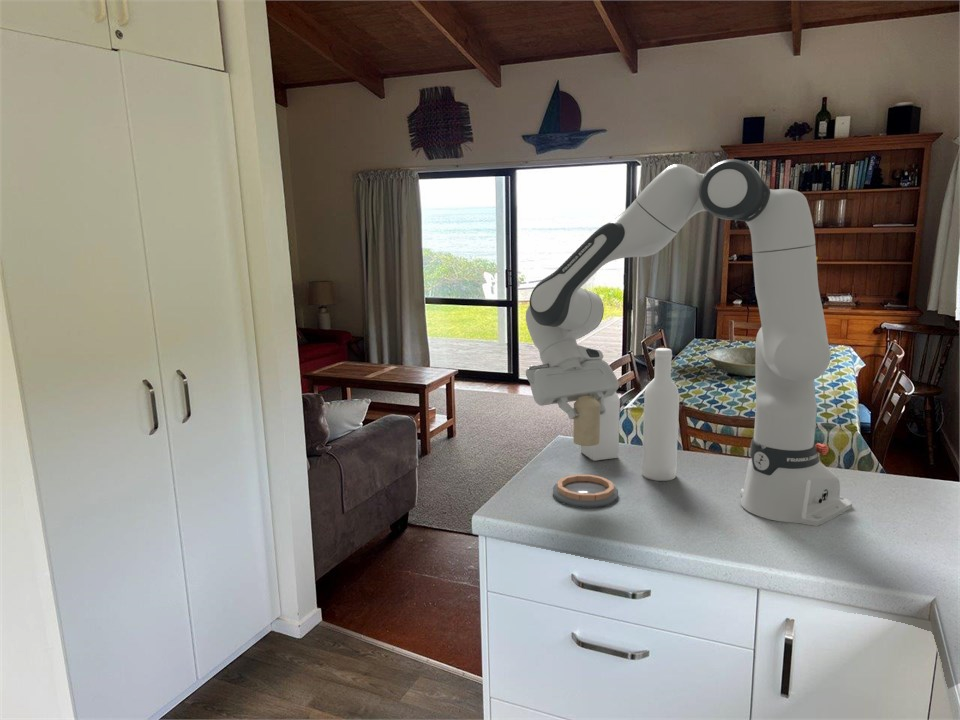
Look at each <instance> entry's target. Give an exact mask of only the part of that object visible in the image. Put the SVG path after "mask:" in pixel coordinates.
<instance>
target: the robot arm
mask: <svg viewBox="0 0 960 720" xmlns="http://www.w3.org/2000/svg"><path fill="white" fill-rule="evenodd" d="M701 212H708V213H709V214H711V215H713V216H714V217H716V218H718V219H722V220H728V221H740V222H745V223H746V225H747V226H748V229H749V232H750V239H751V250H752V253H751V254H752V263H753V264H752V266H753V277H754V278H753V279H754V287H755V292H754V293H755V296H756V300H757V301H756V302H757V306H758V312H759V318H760V319H759V320H760V324H761V327H760V328H759V329H758V332H757V334H756V337H755V356H754V357H755V360H754V361H755V362H754V363H755V366H754V367H755V369H754V370H755V372H754V374H755V414H754V426H753V427H754V429H753V437H752V439H751V440H750V441H751V442H750V445H749V448H750V449H749V450H750V453H749V456H750V459H749V460H748V462H747V463H748V464H747V469H746V474H745V480H744V486H743V487H742V488H741V489H740V493H739V494H740V496H741V499H740V500H741V501H740V505H741V506H742V508H744V509H745V510H746V511H747V512H749V513H751V514H753V515H756V516H758V517H760V518H764V519H767V520H772V521H776V522H783V523H785V522H786V523H796V524H797V523H798V524H799V523H800V524H805V525H809V526H820V525H822V524H824V523H826V522H828V521H829V520H832V519H833V518H836V517H837V516H839V515H842V514H843V513H845V512H847V511H849V510H850V509H852V508H853V502H851V501H850V499H848V498H847V497H845V496H843V495H841V494H840V493H841V484H840V480H839V479H840V478H839V477H838V476H837V475H836V474H835V473H833V472H832V471H831V470H830V469H828V467H826V466H825V465H824V464H823V463H822V462H821V461H820V459H819V458H820V457H819V454H821V455H823V456H825V455H827V454H828V452H829V450H830V449H829V448H830V447H829V446H828V445H827V444H822V443H820V442H817V443H816V444H815V432H816V425H817V424H816V422H817V412H818V410H817V409H818V405H817V399H816V388H815V380H816V379H818V378H820V377H821V376H822V375H823V374H824V373H825V372H826V371H827V369H828V367H829V365H830V362H831V356H832V355H831V350H830V345H829V340H828V331H827V325H826V324H827V323H826V320H825V319H826V318H825V315H824V313H825V312H824V308H823V303H822V300H821V294H820V287H819V280H818V279H819V278H818V264H817V263H818V262H817V248H816V234H815V227H814V222H813V217H812V213H811V208H810V206H809V203H808V200H807V197H806V196H805V195H804V194H803V193H802V192H800V191H798V190H796V189H792V188H791V189H790V188H779V189H778V188H777V189H771V188H769V186H768V185H767V184H766V183H765V181H764V180H763V178H762V177H761V174H760V172H759V171H758V169H756V168H755V166H753V165H752V164H750V163H748V162H746V161H743V160H741V159H737V158H736V159H735V158H729V159H724V160H721V161H718V162H716V163H715V164H713V165H712V166H710V168H708V170H706V172H705V173H700V172H699V171H696V170H695V169H694V168H692V167H690V166H688V165H686V164H681V163H674V164H671V165H669V166H667V167H666V168H665V169H663V170H662V171H661V172H660V173H659V174H658V175H656V176H655V177H654V178H653V179H652V180H651V182H649V183H648V185H646V186H645V187H644V188H643V190H642V191H641V192H640V193H639V194H638V196H637V197H636V198H635V199H634V200H633V202H632V203H630V204H629V206H628V207H627V208H626V209H625V210H624V211H622V213H621V214H619V215H618V216H617V217H616V218H614V219H612V220H611V221H609V222H607V223H605V224H603V225H602V226H600V227H599V228H598V229H596V230H595V231H594V232H593V233H592V234H591V235H589V237H588V238H587V239H586V240H585V241H584V242H583V243H582V244H581V245H580V246H579V247H578V248H577V249H576V250H575V251H574V252H573V253H572V254H571V255H570V256H569V257H568V258H567V259H566V260H565V261H564V262H563V263H562V264H561V265H560V266H559V267H558V268H557V269H555V271H554V272H553V273H551V274H550V275H548V276H545V277H544V278H543V279H542V280H540V281H539V282H538V283H537V284H536V285H535V286H534V288H533V289H532V292H531V294H530V297H529V306H528V307H527V309H526V311H525V322H526V326H527V327H526V328H527V329H528V333H529V335H530V337H531V340H532V342H533V344H534V346H535V347H536V348H537V349H538V351H539V358H540V361H541V363H542V364H538V365H530V366H529V367H528V368H527V369H526V371H525V376H526V379H527V381H528V382H529V387H530V390H531V394H532V396H533V400H534V403H536V404H537V405H538V406H540V407H543V406H549V405H556V404H557V405H558V408H560V409H561V410H562V411H563V412H565V413H566V414H567V417H568V418H569V420H574V419H576V418H577V417H578V416H579V413H578V412H577V409H576V408H574V407H572V405H570V404H569V403H570V402H571V403H572V402H576V401H577V400H578V398H579V397H582V396H591V397H593V398H594V399H595V400H597V401H598V402H599V403H600V415H602V414H604V413H605V412H606V409H605V407H604V405H603V404H604V397H607V396H612V395H613V394H614V393H615V392H616V393H617V391H618V389H619V385H620V383H619V380H618V378H617V376H616V375H615V372H614V370H613V369H612V367H611V366H610V364H609V363H608V362H607V361H605V360H603V358H604V354H603V352H602V351H601V350H600V349H596V348H589V347H586V346H583V345H579V344H578V343H577V340H578V339H581V338H583V337H584V336H587V335H588V334H590V333H591V332H593V331H594V330H596V329H597V328H598V327H599V325H600V324H601V322H602V320H603V317H604V314H605V313H604V312H605V307H604V303H603V300H602V298H601V297H600V295H598V294H597V293H595V292H592V291H590V290H588V289H584V288H582V287H583V286H584V285H586V283H587V282H588V281H589V280H590V279H591V278H592V277H593V276H594V275H595V274H596V273H597V272H598V271H599V270H600V269H601V268H602V267H603V266H605V265H607V264H608V263H610V262H613V261H616V260H620V259H626V258H645V257H650V256H653V255H656V254H657V253H659V252H660V251H661V250H662V249H664V248H665V247H666V246H667V245H668V244H669V243H671V241H673V239H674V237H676V236H677V234H678V233H679V232H680V230H681V229H682V228H683V227H684V226H685V225H686V224H687V222H688V221H689V220H690V219H691V218H693V216H695V215H697V214H699V213H701ZM818 453H819V454H818Z"/></svg>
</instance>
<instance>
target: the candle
mask: <svg viewBox="0 0 960 720" xmlns="http://www.w3.org/2000/svg"><path fill="white" fill-rule="evenodd" d="M573 408H576V409H577V412H578V413H579V416H578V417H577V418H576V419H573V433H572V434H573V438H572V439H573V440H572V441H573V443H574V444H575V445H578V446H580V447H581V446H594V445H597V444H599V436H600V403H599V402H598V401H597V400H595V399H594V398H593V397H591V396H582V397H579V398H578V400H577V401H574V403H573Z"/></svg>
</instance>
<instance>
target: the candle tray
mask: <svg viewBox="0 0 960 720" xmlns="http://www.w3.org/2000/svg"><path fill="white" fill-rule="evenodd" d="M552 496H553V498H554V499H555V500H556V501H557V502H559V503H562V504H564V505H567V506H570V507H575V508H580V509H581V508H583V509H595V508H596V509H597V508H604V507H607V506H611V505H613V504H615V502H617V500H619V489H618V488H617V487H616V486H615V485H614V482H613V481H611V480H609V479H607V478H605V477H603V476H598V475H595V474H594V475H593V474H571V475H566V476H563V477H562V478H560V479H559V480H557V483H555V484H554V485H553V487H552Z"/></svg>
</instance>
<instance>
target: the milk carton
mask: <svg viewBox="0 0 960 720" xmlns="http://www.w3.org/2000/svg"><path fill="white" fill-rule="evenodd" d="M603 405H604V407H605V409H606V412H605V413H604V414H602V415H600V436H599V444H597V445H594V446H581V445H580V452H581V453H582V454H583V455H585V456H586V457H587V458H589V459H590V460H591V461H601V460H608V459H609V460H610V459H618V458H619V451H620V450H619V446H620V445H619V444H620V413H621V412H620V411H621V410H620V409H621V408H620V407H621V400H620V397H619V395H618V393H617V391H616V392H615V393H614V394H613V395H612V396H607V397H604V404H603Z"/></svg>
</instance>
